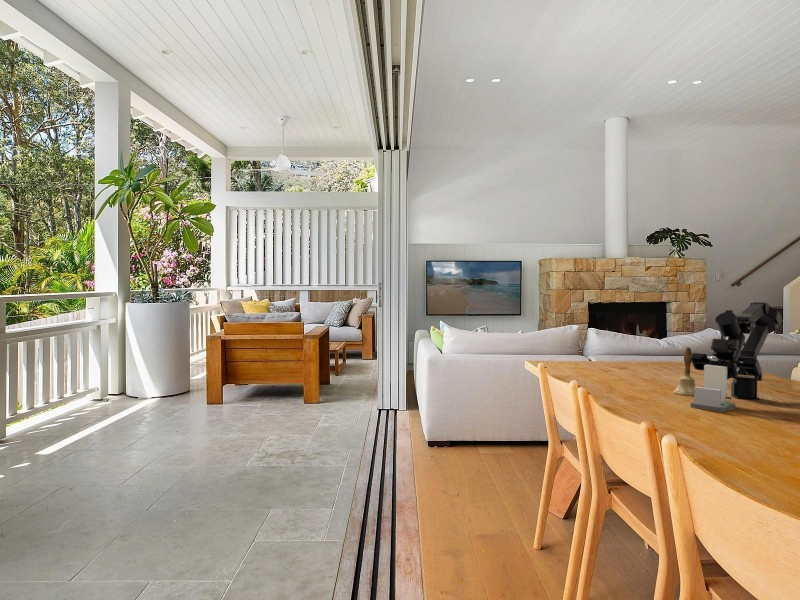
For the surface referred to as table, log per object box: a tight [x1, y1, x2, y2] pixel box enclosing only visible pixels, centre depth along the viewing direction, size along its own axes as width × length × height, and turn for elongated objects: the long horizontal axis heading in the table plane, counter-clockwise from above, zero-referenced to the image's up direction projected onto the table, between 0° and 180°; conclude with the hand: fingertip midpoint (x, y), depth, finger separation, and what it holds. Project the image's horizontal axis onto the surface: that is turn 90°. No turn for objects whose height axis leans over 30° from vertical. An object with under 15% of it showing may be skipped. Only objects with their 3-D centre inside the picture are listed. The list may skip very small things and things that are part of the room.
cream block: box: [703, 365, 732, 404], centre depth 169 cm, size 2×9×11 cm, turn 40°
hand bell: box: [673, 346, 697, 397], centre depth 192 cm, size 8×8×16 cm
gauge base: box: [690, 386, 736, 413], centre depth 168 cm, size 10×9×6 cm
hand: (716, 384), depth 170 cm, fingers closed, pressing on cream block
